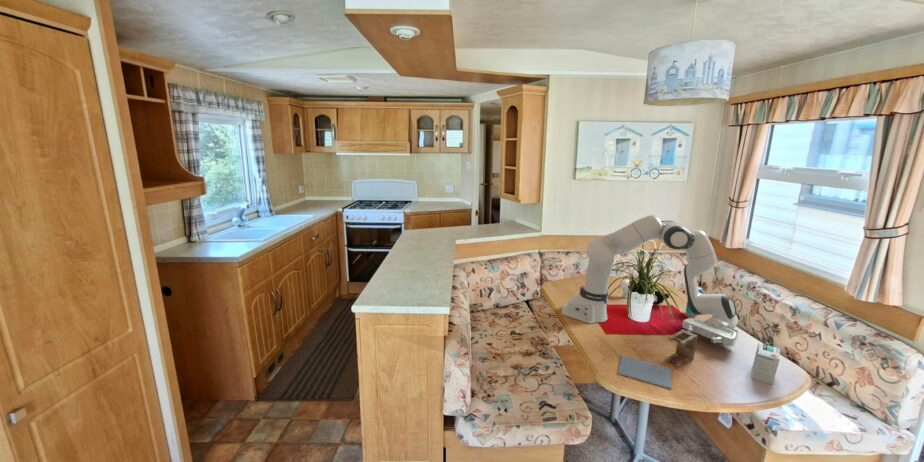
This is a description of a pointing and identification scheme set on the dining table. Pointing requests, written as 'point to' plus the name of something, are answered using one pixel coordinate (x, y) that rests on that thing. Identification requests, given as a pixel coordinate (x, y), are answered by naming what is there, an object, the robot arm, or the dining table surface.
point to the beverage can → (687, 303)
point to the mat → (645, 371)
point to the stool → (683, 347)
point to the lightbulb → (624, 287)
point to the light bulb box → (765, 363)
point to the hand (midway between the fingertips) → (700, 336)
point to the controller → (660, 297)
